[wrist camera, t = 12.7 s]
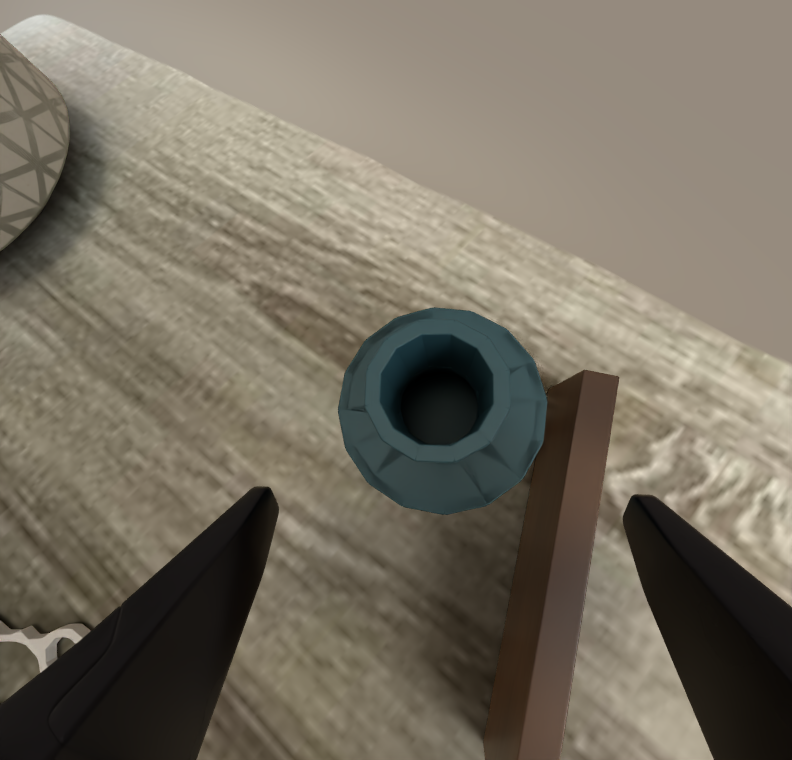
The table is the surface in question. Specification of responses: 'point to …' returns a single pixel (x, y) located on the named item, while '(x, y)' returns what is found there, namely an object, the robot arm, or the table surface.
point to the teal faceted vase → (442, 410)
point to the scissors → (43, 640)
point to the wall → (552, 573)
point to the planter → (28, 141)
